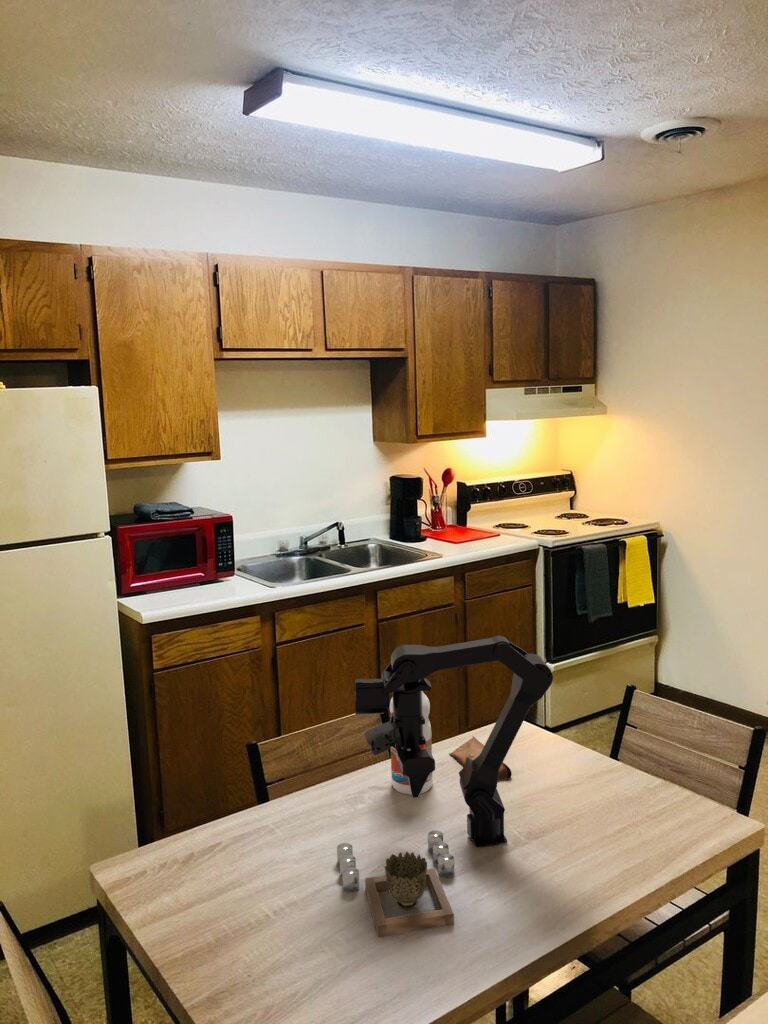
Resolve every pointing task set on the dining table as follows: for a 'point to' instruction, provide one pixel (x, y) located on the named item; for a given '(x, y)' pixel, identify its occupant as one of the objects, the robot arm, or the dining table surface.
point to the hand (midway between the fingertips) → (410, 785)
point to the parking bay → (413, 920)
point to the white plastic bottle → (400, 780)
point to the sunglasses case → (473, 751)
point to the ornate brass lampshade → (406, 879)
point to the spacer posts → (434, 846)
